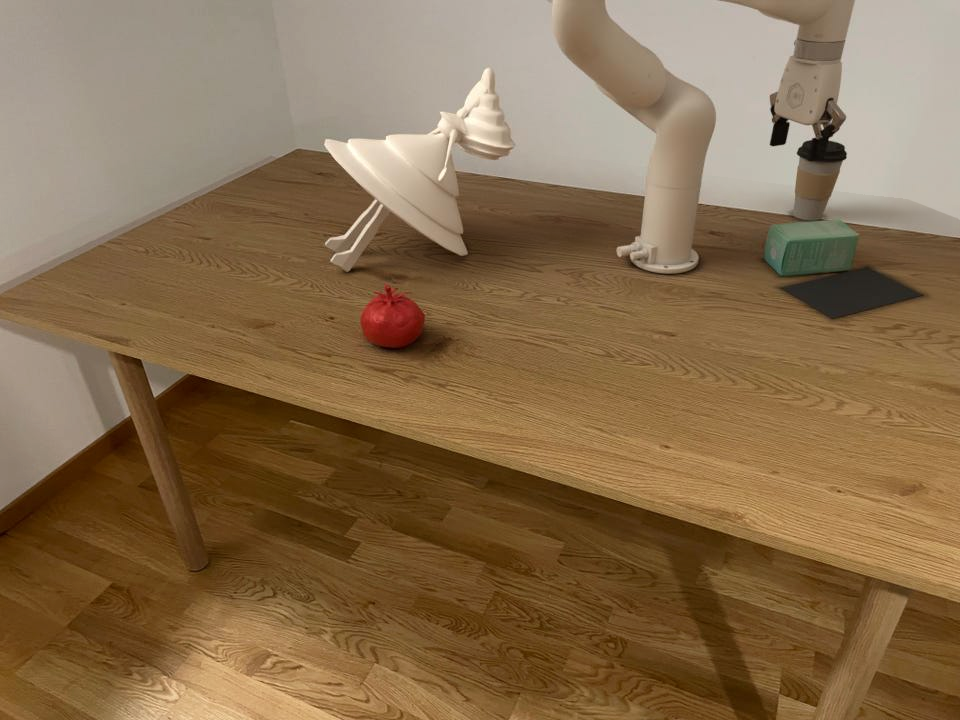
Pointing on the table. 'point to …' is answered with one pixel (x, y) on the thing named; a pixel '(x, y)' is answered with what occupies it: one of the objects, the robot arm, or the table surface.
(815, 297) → the mat
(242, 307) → the table surface
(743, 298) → the table surface
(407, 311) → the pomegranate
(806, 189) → the coffee cup
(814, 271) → the box
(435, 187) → the figurine
